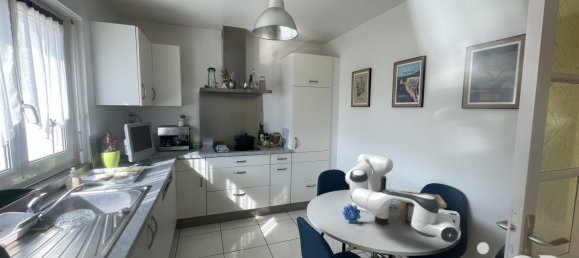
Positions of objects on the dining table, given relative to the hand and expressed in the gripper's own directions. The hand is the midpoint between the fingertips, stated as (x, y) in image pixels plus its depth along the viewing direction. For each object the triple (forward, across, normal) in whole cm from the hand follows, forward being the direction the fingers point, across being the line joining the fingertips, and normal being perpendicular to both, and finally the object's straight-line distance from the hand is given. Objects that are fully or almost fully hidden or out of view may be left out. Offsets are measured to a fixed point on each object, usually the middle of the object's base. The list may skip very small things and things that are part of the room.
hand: (431, 208), depth 129 cm
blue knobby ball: (+4, -42, -18) cm, 46 cm away
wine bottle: (+12, -24, -18) cm, 33 cm away
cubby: (+19, -1, -18) cm, 26 cm away
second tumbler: (+22, -7, -18) cm, 29 cm away
